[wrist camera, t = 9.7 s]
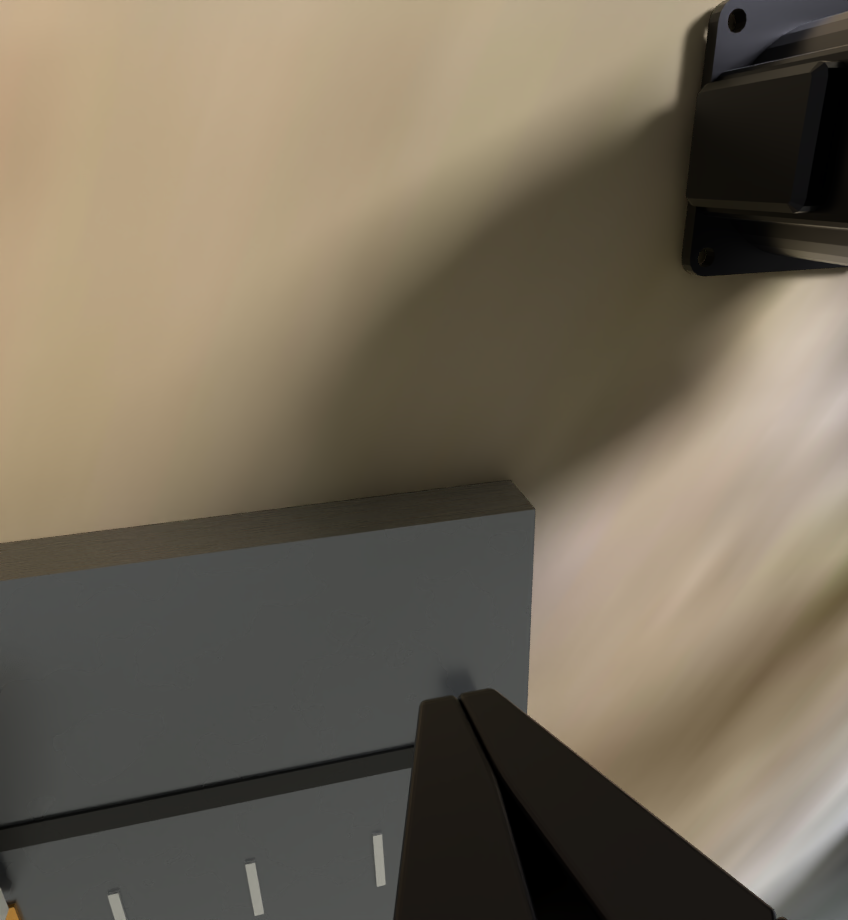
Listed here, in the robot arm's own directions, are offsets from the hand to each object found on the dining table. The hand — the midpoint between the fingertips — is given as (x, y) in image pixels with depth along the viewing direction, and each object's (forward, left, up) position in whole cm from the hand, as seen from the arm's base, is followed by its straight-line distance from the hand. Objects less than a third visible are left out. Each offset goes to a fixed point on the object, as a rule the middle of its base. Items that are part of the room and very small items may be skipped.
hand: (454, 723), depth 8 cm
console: (+6, +11, -12) cm, 17 cm away
